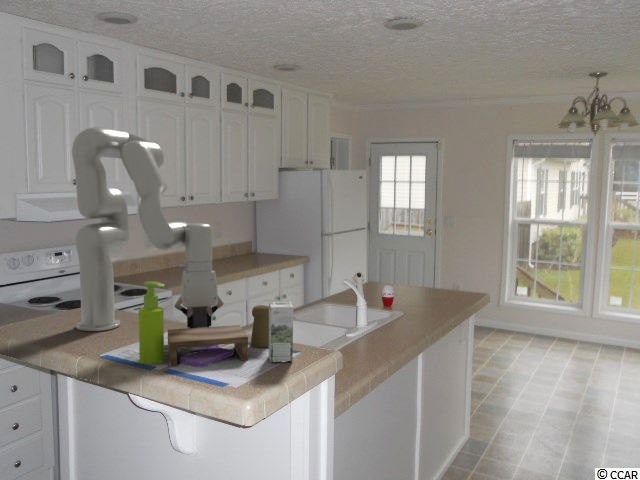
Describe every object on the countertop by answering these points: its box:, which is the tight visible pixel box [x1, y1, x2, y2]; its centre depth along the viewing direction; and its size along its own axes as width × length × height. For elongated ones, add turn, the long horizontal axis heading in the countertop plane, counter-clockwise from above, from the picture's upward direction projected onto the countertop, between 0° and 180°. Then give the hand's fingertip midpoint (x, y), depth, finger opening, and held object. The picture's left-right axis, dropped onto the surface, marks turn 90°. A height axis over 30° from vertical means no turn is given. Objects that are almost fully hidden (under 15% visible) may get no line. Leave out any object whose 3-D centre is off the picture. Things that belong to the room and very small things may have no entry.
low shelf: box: [167, 324, 249, 367], centre depth 146 cm, size 12×19×6 cm, turn 108°
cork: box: [250, 304, 269, 348], centre depth 156 cm, size 6×6×11 cm
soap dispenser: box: [138, 281, 166, 365], centre depth 141 cm, size 6×7×20 cm
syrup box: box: [268, 301, 294, 364], centre depth 144 cm, size 6×6×14 cm
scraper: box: [190, 307, 220, 352], centre depth 159 cm, size 16×7×9 cm, turn 18°
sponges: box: [179, 346, 235, 368], centre depth 145 cm, size 7×13×2 cm, turn 149°
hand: (199, 328), depth 164 cm, fingers closed on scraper, 4 cm apart
